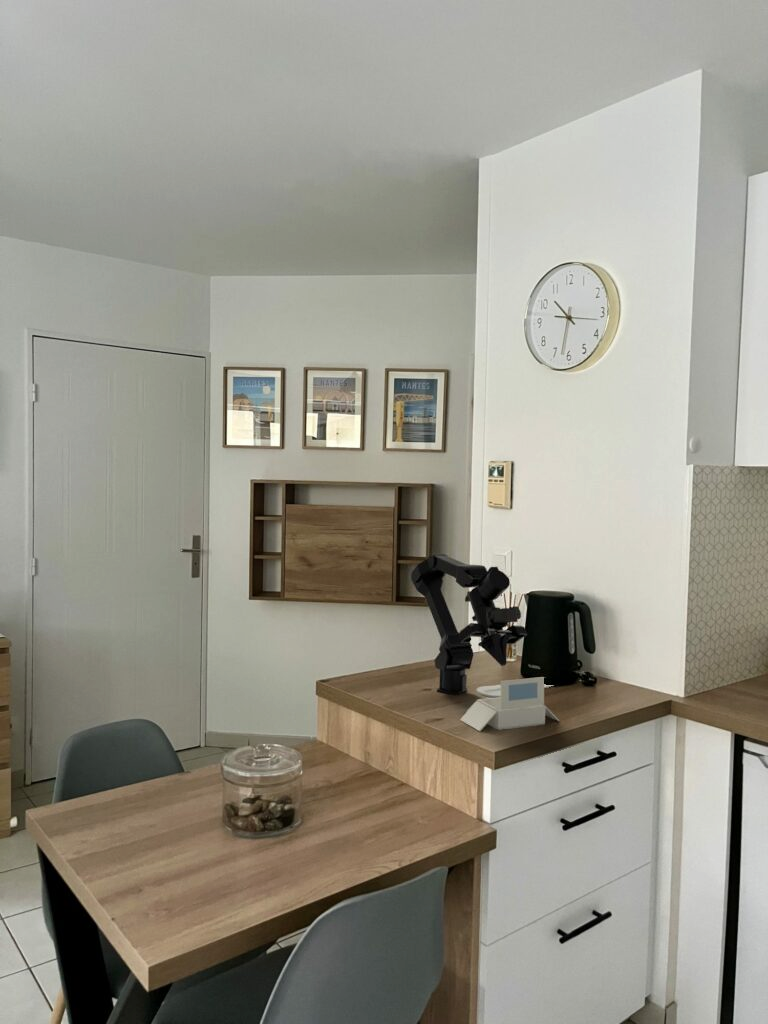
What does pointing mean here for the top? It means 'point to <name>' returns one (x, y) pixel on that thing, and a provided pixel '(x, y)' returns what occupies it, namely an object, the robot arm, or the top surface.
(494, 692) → the white pronged spatula
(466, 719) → the flap
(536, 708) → the carton
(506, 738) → the top surface
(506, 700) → the panel
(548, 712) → the flap
